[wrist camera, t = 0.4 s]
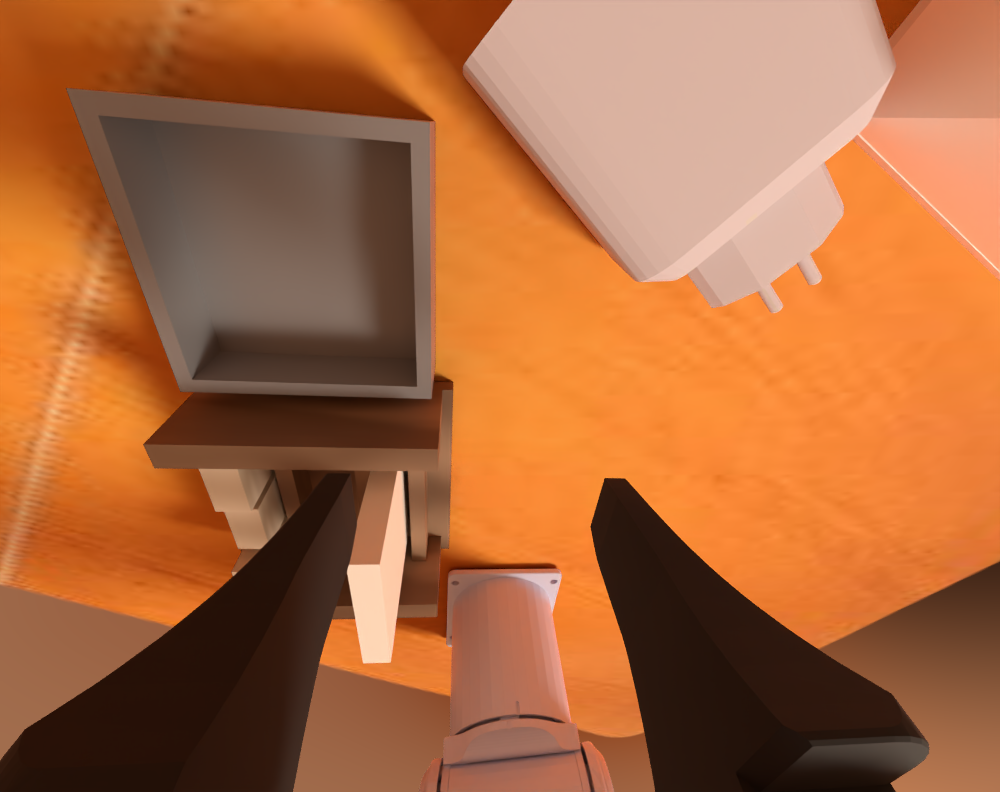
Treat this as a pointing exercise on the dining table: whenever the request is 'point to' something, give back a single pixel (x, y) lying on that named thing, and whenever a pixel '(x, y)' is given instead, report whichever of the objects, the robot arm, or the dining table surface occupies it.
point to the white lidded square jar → (946, 119)
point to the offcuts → (247, 506)
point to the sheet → (379, 562)
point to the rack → (331, 460)
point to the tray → (275, 240)
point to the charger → (690, 125)
